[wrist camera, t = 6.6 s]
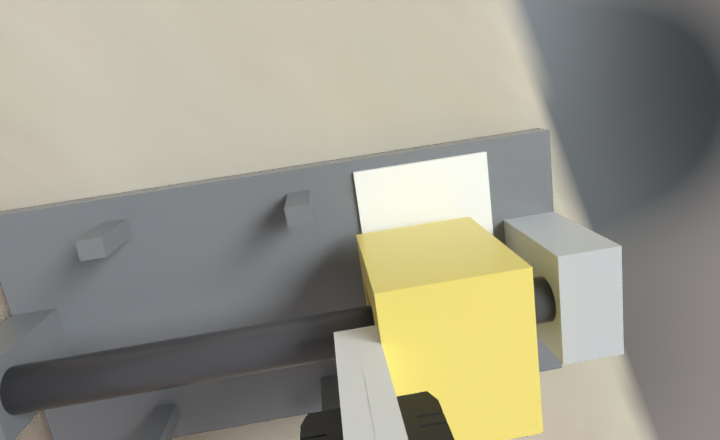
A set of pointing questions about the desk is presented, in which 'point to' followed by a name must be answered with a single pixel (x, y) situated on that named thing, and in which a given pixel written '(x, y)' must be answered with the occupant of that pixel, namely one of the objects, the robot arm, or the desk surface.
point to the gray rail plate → (263, 285)
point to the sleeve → (457, 324)
